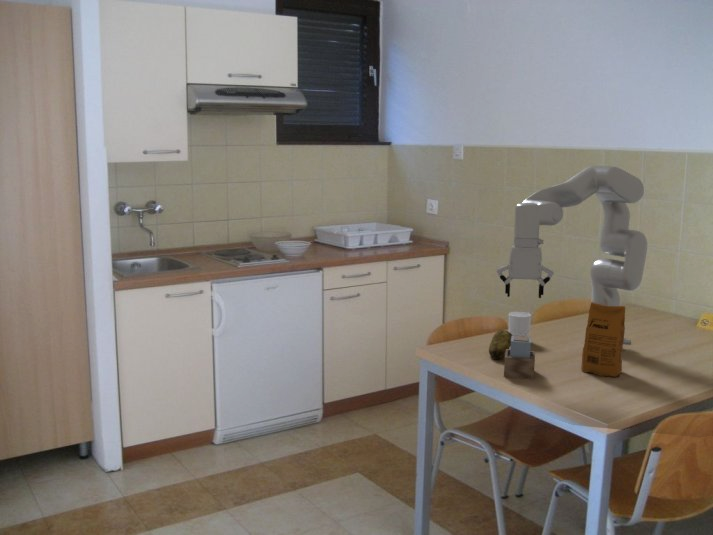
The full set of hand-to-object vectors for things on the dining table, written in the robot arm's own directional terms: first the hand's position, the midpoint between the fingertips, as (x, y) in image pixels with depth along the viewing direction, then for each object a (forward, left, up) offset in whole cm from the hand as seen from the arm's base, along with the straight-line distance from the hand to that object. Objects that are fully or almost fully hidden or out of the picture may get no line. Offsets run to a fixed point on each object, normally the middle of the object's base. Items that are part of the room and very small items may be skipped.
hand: (524, 296), depth 234 cm
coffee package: (-25, -3, -24) cm, 35 cm away
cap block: (0, +6, -18) cm, 19 cm away
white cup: (+1, -32, -24) cm, 40 cm away
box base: (0, +6, -23) cm, 24 cm away
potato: (+7, -12, -24) cm, 27 cm away
